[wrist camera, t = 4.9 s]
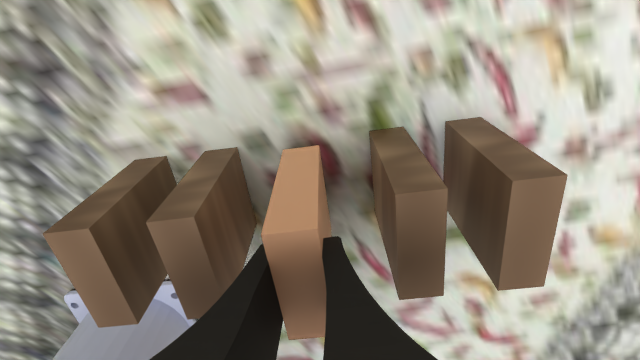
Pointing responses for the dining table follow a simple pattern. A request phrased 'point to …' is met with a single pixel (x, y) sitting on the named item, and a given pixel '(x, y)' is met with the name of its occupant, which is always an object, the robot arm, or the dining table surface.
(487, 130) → the domino
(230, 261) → the domino
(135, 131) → the dining table surface
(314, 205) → the domino
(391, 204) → the domino
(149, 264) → the domino
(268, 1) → the dining table surface
